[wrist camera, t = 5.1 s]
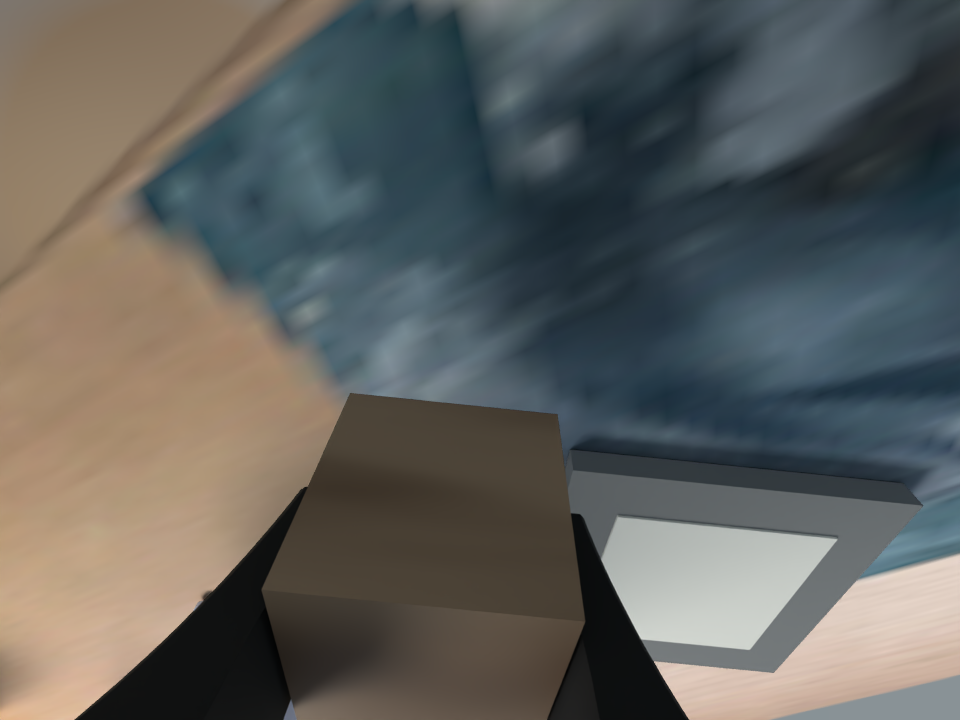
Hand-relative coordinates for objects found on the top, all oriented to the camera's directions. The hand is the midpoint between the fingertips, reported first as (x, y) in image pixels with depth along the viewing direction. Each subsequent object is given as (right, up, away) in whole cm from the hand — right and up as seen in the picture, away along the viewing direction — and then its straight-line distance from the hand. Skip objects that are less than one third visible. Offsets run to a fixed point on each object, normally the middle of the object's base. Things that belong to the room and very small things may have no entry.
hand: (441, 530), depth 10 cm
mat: (+9, -5, +10) cm, 15 cm away
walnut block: (0, +1, +1) cm, 2 cm away
